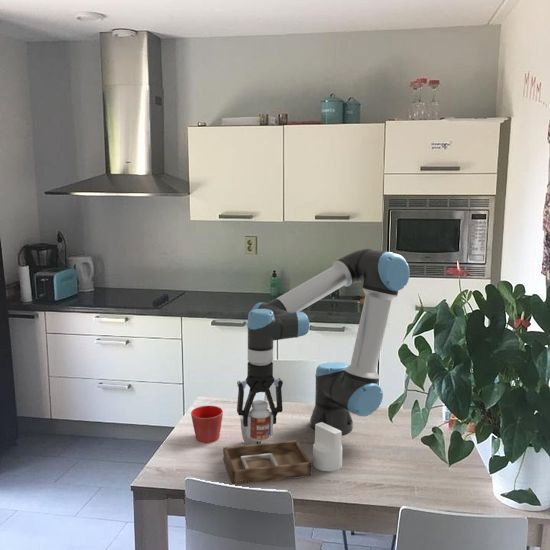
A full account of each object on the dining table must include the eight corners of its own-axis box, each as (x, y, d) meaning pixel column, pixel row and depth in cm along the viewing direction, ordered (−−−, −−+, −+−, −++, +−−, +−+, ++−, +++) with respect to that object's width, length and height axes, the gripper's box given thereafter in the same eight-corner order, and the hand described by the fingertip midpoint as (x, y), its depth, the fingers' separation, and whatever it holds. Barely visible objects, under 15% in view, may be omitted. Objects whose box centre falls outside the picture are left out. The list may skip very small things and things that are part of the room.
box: (297, 451, 199) (297, 440, 198) (311, 475, 184) (311, 463, 183) (223, 459, 193) (223, 447, 193) (231, 484, 178) (231, 472, 177)
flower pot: (185, 443, 205) (185, 415, 203) (200, 429, 215) (199, 403, 213) (214, 447, 201) (214, 419, 200) (228, 434, 212) (227, 407, 210)
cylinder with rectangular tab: (306, 463, 192) (307, 426, 189) (327, 454, 197) (328, 419, 195) (327, 474, 185) (328, 436, 183) (348, 465, 191) (349, 428, 188)
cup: (261, 451, 199) (262, 422, 197) (237, 449, 201) (237, 420, 199) (267, 440, 207) (267, 412, 205) (243, 438, 208) (243, 410, 207)
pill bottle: (256, 444, 182) (257, 408, 180) (245, 436, 187) (245, 401, 185) (273, 438, 186) (274, 403, 184) (262, 431, 191) (262, 397, 189)
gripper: (288, 355, 188) (287, 427, 192) (226, 359, 183) (226, 432, 188) (294, 363, 181) (293, 437, 185) (230, 367, 176) (230, 443, 180)
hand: (259, 434), depth 186 cm, fingers closed on pill bottle, 6 cm apart
